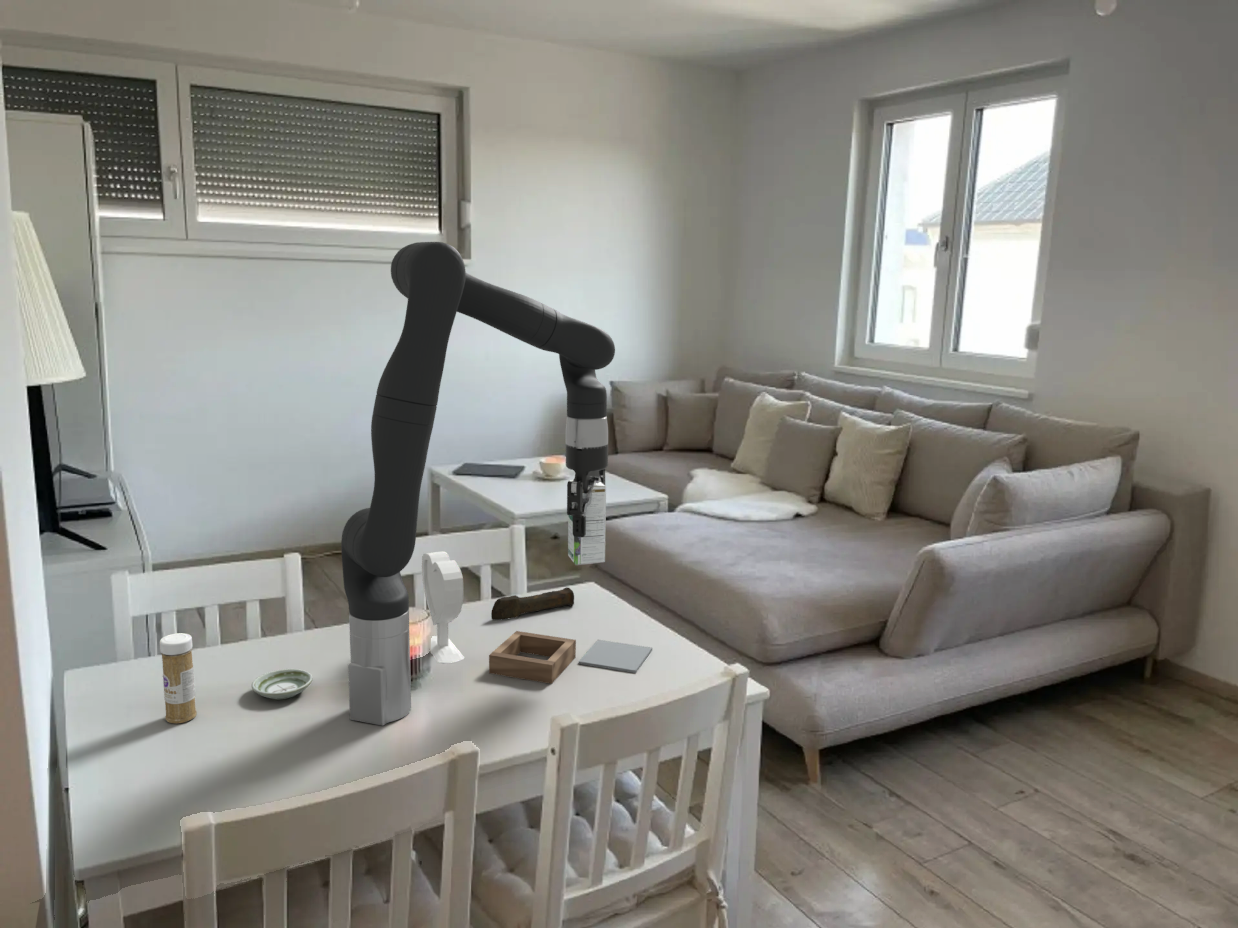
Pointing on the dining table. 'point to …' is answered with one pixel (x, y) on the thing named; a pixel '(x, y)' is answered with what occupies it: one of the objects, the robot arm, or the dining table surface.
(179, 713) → the sprinkles bottle
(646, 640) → the dining table surface
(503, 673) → the collar
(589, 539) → the white drink carton
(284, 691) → the saucer
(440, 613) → the heart sculpture
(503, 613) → the hand tool
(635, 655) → the mat
